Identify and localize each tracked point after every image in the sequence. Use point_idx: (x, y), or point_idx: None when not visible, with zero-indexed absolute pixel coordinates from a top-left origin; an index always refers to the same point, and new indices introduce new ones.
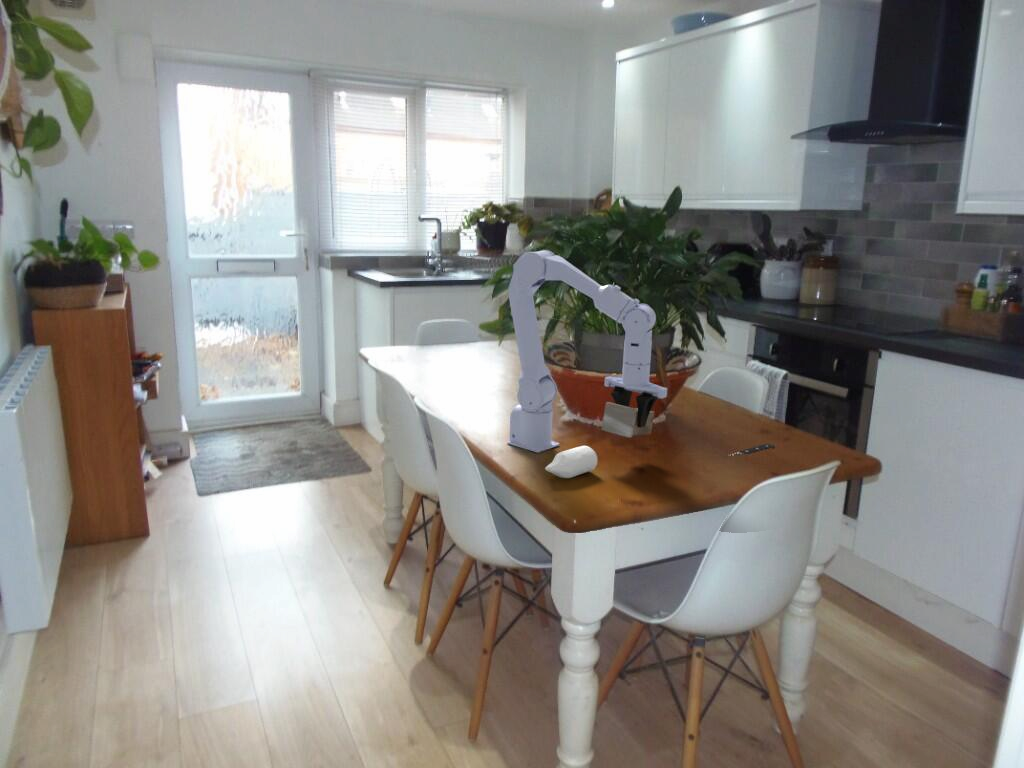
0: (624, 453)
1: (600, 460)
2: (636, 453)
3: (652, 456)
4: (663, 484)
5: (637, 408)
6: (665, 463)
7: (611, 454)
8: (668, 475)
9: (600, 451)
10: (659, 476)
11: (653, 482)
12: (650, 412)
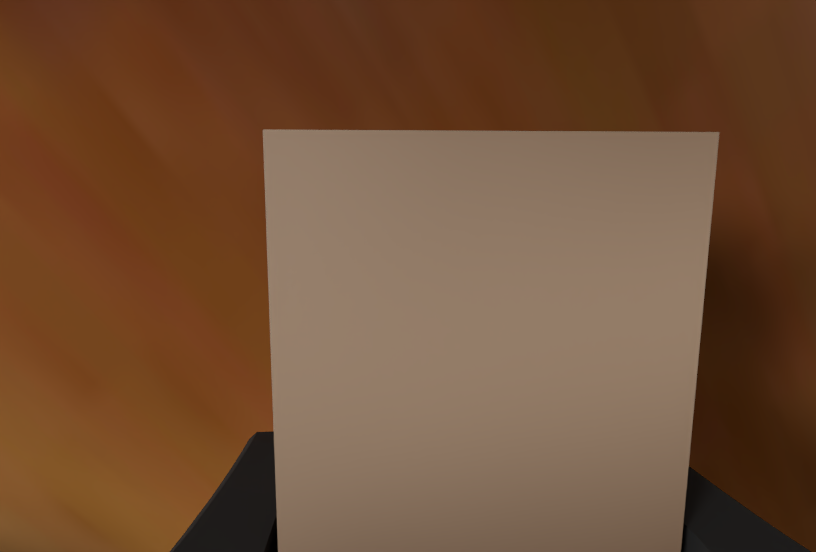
0: (245, 136)
1: (227, 419)
2: (323, 47)
3: (484, 7)
4: (801, 467)
5: (298, 260)
6: (662, 94)
7: (185, 246)
8: (778, 315)
9: (63, 252)
10: (730, 375)
11: (735, 483)
12: (697, 319)
